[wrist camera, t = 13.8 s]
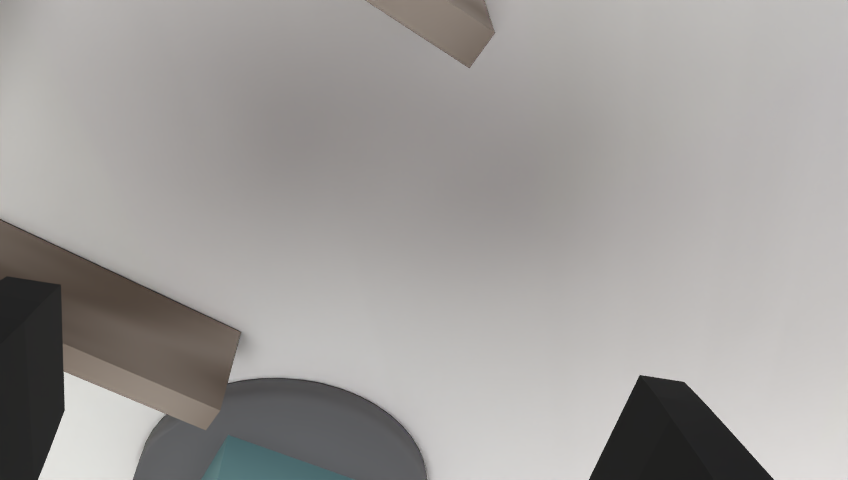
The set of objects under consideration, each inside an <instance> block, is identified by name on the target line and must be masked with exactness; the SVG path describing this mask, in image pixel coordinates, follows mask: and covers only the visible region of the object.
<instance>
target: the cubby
mask: <svg viewBox="0 0 848 480" xmlns="http://www.w3.org/2000/svg"><path fill="white" fill-rule="evenodd" d="M365 1H367V2H369V3H370V4H372V5H373V6H375V7H376V8H378V9H379V10H381V11H382V12H384V13H385V14H387V15H389V16H390V17H392V18H393V19H395V20H396V21H398V22H399V23H401V24H402V25H404V26H405V27H407V28H408V29H410V30H412V31H413V32H415V33H416V34H418V35H419V36H421V37H422V38H424V39H425V40H427V41H428V42H430V43H431V44H433V45H435V46H436V47H438V48H439V49H441V50H442V51H444V52H445V53H447V54H448V55H450V56H451V57H453V58H454V59H456V60H458V61H459V62H461V63H462V64H464V65H465V66H467V67H468V68H470V67H471V65H472V64H473V63H474V61H475V60H476V58H477V57H478V56H479V54H480V53H481V52H482V50H483V49H484V47H485V46H486V45H487V43H488V42H489V41H490V39H491V38H492V36H493V35H494V34H495V32H494V29H493V25H492V22H491V19H490V16H489V13H488V10H487V7H486V4H485V1H484V0H365ZM6 276H9V277H15V278H22V279H28V280H35V281H41V282H47V283H54V284H60V285H61V302H62V337H63V371H64V372H67V373H69V374H71V375H74V376H76V377H79V378H81V379H83V380H86V381H88V382H91V383H93V384H95V385H98V386H100V387H103V388H105V389H108V390H110V391H112V392H115V393H117V394H120V395H122V396H124V397H127V398H129V399H132V400H134V401H136V402H139V403H141V404H144V405H146V406H148V407H151V408H153V409H156V410H158V411H160V412H163V413H165V414H168V415H170V416H172V417H175V418H177V419H180V420H182V421H184V422H187V423H189V424H192V425H194V426H196V427H199V428H201V429H204V430H207V428H208V427H209V425H210V424H211V423H212V421H213V420H214V419H215V417H216V416H217V414H218V413H219V412H220V410H221V406H222V402H223V399H224V395H225V391H226V387H227V383H228V379H229V376H230V372H231V368H232V364H233V360H234V357H235V353H236V349H237V345H238V341H239V338H240V334H241V332H239V331H237V330H235V329H233V328H230V327H228V326H226V325H224V324H222V323H220V322H218V321H215V320H213V319H211V318H209V317H207V316H205V315H203V314H200V313H198V312H196V311H194V310H192V309H190V308H188V307H185V306H183V305H181V304H179V303H177V302H175V301H173V300H170V299H168V298H166V297H164V296H162V295H160V294H158V293H155V292H153V291H151V290H149V289H147V288H145V287H143V286H140V285H138V284H136V283H134V282H132V281H130V280H128V279H125V278H123V277H121V276H119V275H117V274H115V273H113V272H110V271H108V270H106V269H104V268H102V267H100V266H98V265H95V264H93V263H91V262H89V261H87V260H85V259H83V258H80V257H78V256H76V255H74V254H72V253H70V252H68V251H65V250H63V249H61V248H59V247H57V246H55V245H53V244H50V243H48V242H46V241H44V240H42V239H40V238H38V237H35V236H33V235H31V234H29V233H27V232H25V231H23V230H20V229H18V228H16V227H14V226H12V225H10V224H8V223H5V222H3V221H1V220H0V280H2V279H3V278H5V277H6Z"/></svg>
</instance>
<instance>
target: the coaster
mask: <svg viewBox="0 0 848 480" xmlns="http://www.w3.org/2000/svg"><path fill="white" fill-rule="evenodd" d="M228 435H230V436H233V437H236V438H238V439H241V440H244V441H247V442H250V443H253V444H255V445H258V446H261V447H264V448H267V449H270V450H272V451H275V452H278V453H281V454H284V455H287V456H289V457H292V458H295V459H298V460H301V461H303V462H306V463H309V464H312V465H315V466H318V467H320V468H323V469H326V470H329V471H332V472H335V473H337V474H340V475H343V476H346V477H349V478H352V479H354V480H427V476H426V470H425V465H424V461H423V459H422V456H421V453H420V451H419V449H418V447H417V446H416V444H415V442H414V441H413V439H412V437H411V436H410V435H409V434H408V433H407V431H406V430H405V429H404V428H403V427H402V426H401V425H400V424H399V423H398V422H397V421H396V420H395V419H394V418H393V417H391V416H390V415H389V414H388V413H386V412H385V411H383V410H382V409H380V408H379V407H378V406H376V405H374V404H372V403H371V402H369V401H367V400H365V399H363V398H361V397H359V396H357V395H354V394H352V393H349V392H347V391H344V390H342V389H338V388H335V387H331V386H328V385H324V384H320V383H314V382H309V381H303V380H292V379H256V380H248V381H240V382H235V383H231V384H227V387H226V391H225V395H224V399H223V402H222V406H221V410H220V412H219V413H218V414H217V416H216V417H215V419H214V420H213V421H212V423H211V424H210V425H209V427H208V428H207V430H204V429H201V428H199V427H196V426H194V425H192V424H189V423H187V422H184V421H182V420H180V419H177V418H175V417H172V416H170V415H168V414H167V415H166V416H165V417H164V418H162V419H161V421H160V422H159V423H158V424H157V426H156V427H155V428H154V429H153V431H152V432H151V434H150V436H149V438H148V439H147V441H146V443H145V446H144V449H143V452H142V454H141V457H140V460H139V463H138V466H137V468H136V472H135V475H134V478H133V480H201V479H202V477H203V476H204V474H205V472H206V471H207V469H208V467H209V466H210V464H211V462H212V461H213V459H214V457H215V456H216V454H217V452H218V451H219V449H220V447H221V446H222V444H223V443H224V441H225V439H226V438H227V436H228Z"/></svg>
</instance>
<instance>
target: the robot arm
mask: <svg viewBox="0 0 848 480" xmlns="http://www.w3.org/2000/svg"><path fill="white" fill-rule="evenodd" d="M64 410H65V408H64V372H63V337H62V302H61V285H60V284H54V283H47V282H41V281H35V280H28V279H22V278H15V277H9V276H6V277H5V278H3V279H2V280H0V480H38V478H39V475H40V473H41V471H42V468H43V466H44V463H45V461H46V458H47V456H48V453H49V450H50V448H51V445H52V442H53V440H54V437H55V434H56V432H57V429H58V426H59V424H60V421H61V418H62V416H63V413H64ZM589 480H774V479H773V478H772V477H771V476H770V475H769V474H768V473H767V471H766V470H765V469H764V468H763V467H762V466H761V465H760V464H759V463H758V461H757V460H756V459H755V458H754V457H753V456H752V455H751V454H750V453H749V451H748V450H747V449H746V448H745V447H744V446H743V445H742V444H741V443H740V441H739V440H738V439H737V438H736V437H735V436H734V435H733V434H732V432H731V431H730V430H729V429H728V428H727V427H726V426H725V425H724V424H723V423H722V421H721V420H720V419H719V418H718V417H717V416H716V415H715V414H714V413H713V412H712V410H711V409H710V408H709V407H708V406H707V405H706V404H705V403H704V402H703V401H702V400H701V399H700V398H699V397H698V396H697V395H696V394H695V393H694V391H693V390H692V389H691V388H690V387H689V386H688V385H687V384H685V383H684V382H681V381H674V380H668V379H661V378H655V377H649V376H642V375H640V376H639V378H638V380H637V382H636V384H635V386H634V388H633V390H632V392H631V394H630V396H629V399H628V401H627V403H626V405H625V407H624V409H623V411H622V413H621V415H620V417H619V419H618V421H617V423H616V425H615V427H614V429H613V431H612V433H611V435H610V438H609V440H608V442H607V444H606V446H605V448H604V450H603V452H602V454H601V456H600V458H599V460H598V462H597V464H596V466H595V468H594V470H593V472H592V474H591V476H590V479H589Z"/></svg>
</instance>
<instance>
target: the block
mask: <svg viewBox="0 0 848 480" xmlns="http://www.w3.org/2000/svg"><path fill="white" fill-rule="evenodd" d="M201 480H354V479H352V478H349V477H346V476H343V475H340V474H337V473H335V472H332V471H329V470H326V469H323V468H320V467H318V466H315V465H312V464H309V463H306V462H303V461H301V460H298V459H295V458H292V457H289V456H287V455H284V454H281V453H278V452H275V451H272V450H270V449H267V448H264V447H261V446H258V445H255V444H253V443H250V442H247V441H244V440H241V439H238V438H236V437H233V436H230V435H228V436H227V438H226V439H225V441H224V443H223V444H222V446H221V447H220V449H219V451H218V452H217V454H216V456H215V457H214V459H213V461H212V462H211V464H210V466H209V467H208V469H207V471H206V472H205V474H204V476H203V477H202V479H201Z"/></svg>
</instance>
